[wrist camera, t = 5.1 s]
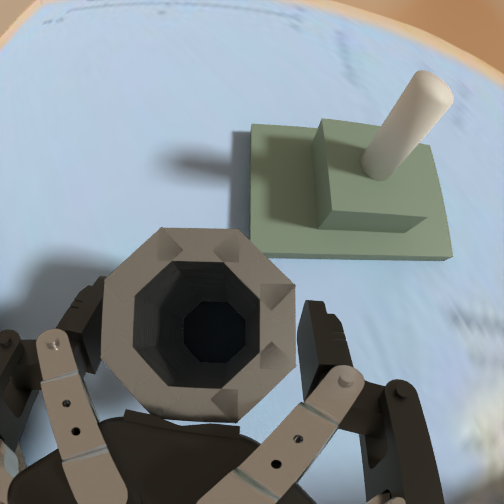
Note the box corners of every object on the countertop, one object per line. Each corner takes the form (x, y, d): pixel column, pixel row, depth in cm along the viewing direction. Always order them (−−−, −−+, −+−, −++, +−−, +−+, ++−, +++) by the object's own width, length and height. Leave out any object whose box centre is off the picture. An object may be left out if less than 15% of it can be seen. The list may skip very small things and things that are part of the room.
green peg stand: (422, 152, 23) (499, 65, 12) (443, 260, 21) (558, 203, 10) (250, 134, 22) (264, 1, 11) (249, 257, 20) (270, 159, 9)
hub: (263, 285, 19) (294, 229, 10) (262, 380, 18) (295, 422, 8) (168, 282, 19) (110, 226, 9) (165, 377, 18) (101, 411, 8)
